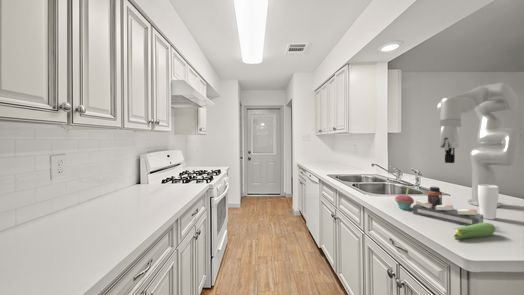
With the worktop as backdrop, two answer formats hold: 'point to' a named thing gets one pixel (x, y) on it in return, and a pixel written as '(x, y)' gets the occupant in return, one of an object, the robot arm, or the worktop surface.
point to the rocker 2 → (444, 207)
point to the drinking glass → (488, 200)
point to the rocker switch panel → (447, 215)
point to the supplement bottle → (435, 196)
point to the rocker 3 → (467, 211)
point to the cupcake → (404, 201)
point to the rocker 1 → (424, 203)
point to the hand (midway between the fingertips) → (449, 162)
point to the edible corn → (474, 230)
